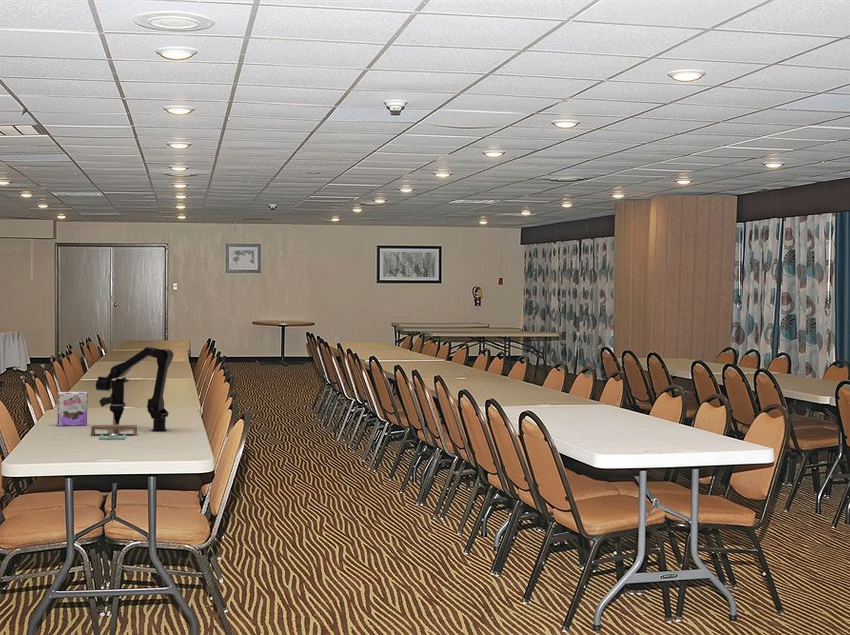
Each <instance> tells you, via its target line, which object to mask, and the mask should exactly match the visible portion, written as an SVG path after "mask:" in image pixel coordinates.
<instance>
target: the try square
mask: <svg viewBox="0 0 850 635" xmlns="http://www.w3.org/2000/svg"><path fill="white" fill-rule="evenodd" d="M120 421H121V419H120V420H119V423H118V424H116V422H115V417H114V413H113V412H112V425H121V424H120V423H121V422H120ZM121 430H122V429H108V432H107V435H109V434H110V433H117V434H118V435H120V433H121Z"/></svg>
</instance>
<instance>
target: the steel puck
mask: <svg viewBox="0 0 850 635" xmlns="http://www.w3.org/2000/svg"><path fill="white" fill-rule="evenodd" d="M108 438H119V434H117V433H110V434H108Z"/></svg>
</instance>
